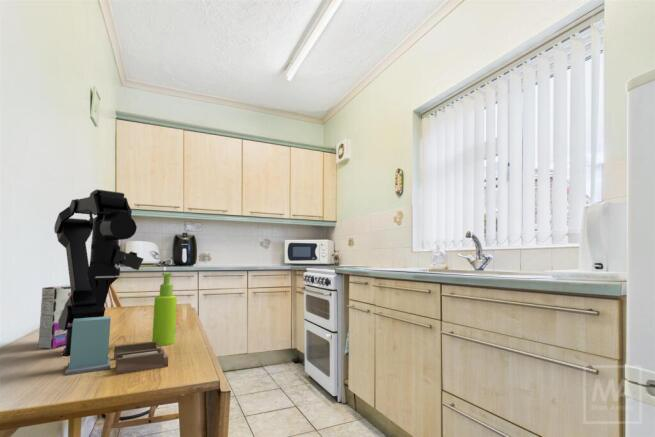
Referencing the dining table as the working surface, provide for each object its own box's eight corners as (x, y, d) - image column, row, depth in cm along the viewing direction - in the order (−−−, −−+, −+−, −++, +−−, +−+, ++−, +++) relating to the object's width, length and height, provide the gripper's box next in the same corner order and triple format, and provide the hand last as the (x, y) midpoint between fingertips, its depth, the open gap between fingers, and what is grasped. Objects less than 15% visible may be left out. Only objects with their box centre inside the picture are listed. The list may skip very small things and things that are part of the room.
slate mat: (67, 365, 79) (68, 362, 79) (109, 359, 84) (109, 357, 84) (65, 375, 73) (65, 372, 73) (110, 368, 77) (110, 365, 77)
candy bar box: (73, 339, 105) (78, 283, 106) (87, 339, 104) (91, 284, 105) (35, 348, 94) (41, 286, 95) (51, 349, 93) (56, 287, 94)
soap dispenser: (172, 339, 105) (175, 272, 107) (176, 344, 99) (179, 273, 101) (150, 341, 102) (154, 272, 104) (153, 346, 96) (157, 273, 98)
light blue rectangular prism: (70, 364, 78) (74, 318, 79) (107, 359, 82) (110, 316, 83) (69, 369, 75) (72, 321, 76) (107, 364, 78) (110, 318, 80)
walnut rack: (114, 358, 85) (114, 345, 85) (159, 352, 90) (159, 340, 90) (116, 374, 73) (117, 359, 74) (167, 366, 79) (168, 352, 79)
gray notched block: (121, 369, 77) (122, 355, 78) (160, 363, 82) (160, 350, 82) (122, 372, 75) (123, 358, 76) (161, 366, 79) (162, 352, 80)
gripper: (146, 240, 83) (142, 307, 81) (138, 242, 98) (135, 299, 97) (89, 238, 77) (84, 311, 75) (91, 241, 92) (86, 301, 91)
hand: (100, 305), depth 84 cm, fingers open, 9 cm apart
